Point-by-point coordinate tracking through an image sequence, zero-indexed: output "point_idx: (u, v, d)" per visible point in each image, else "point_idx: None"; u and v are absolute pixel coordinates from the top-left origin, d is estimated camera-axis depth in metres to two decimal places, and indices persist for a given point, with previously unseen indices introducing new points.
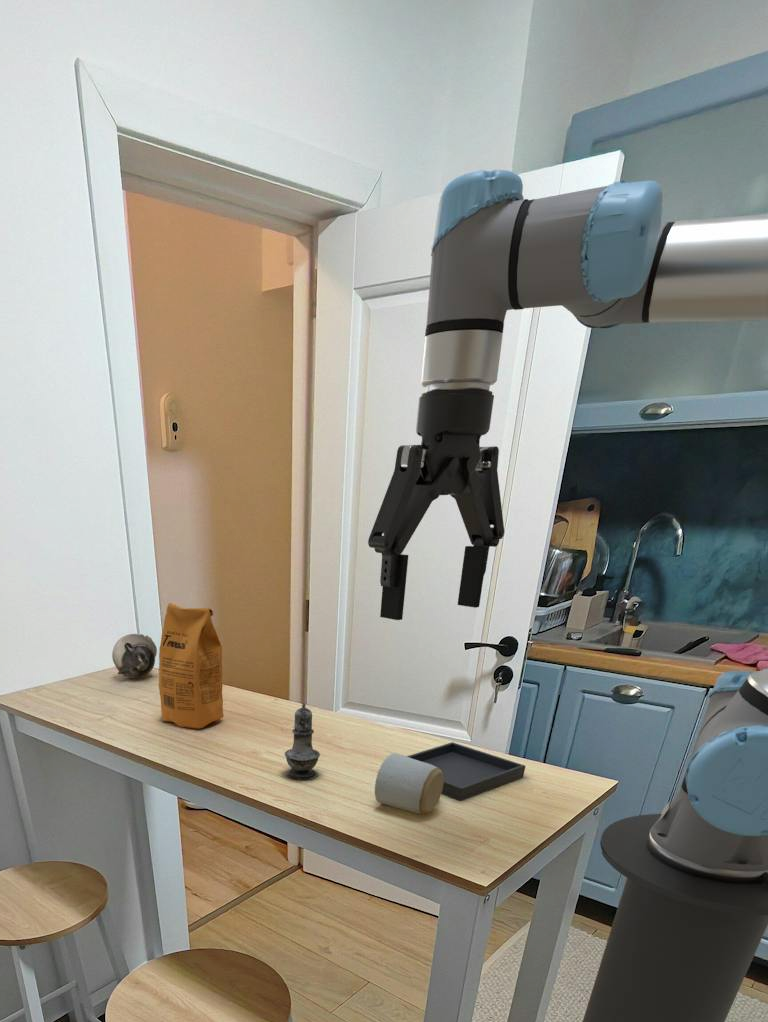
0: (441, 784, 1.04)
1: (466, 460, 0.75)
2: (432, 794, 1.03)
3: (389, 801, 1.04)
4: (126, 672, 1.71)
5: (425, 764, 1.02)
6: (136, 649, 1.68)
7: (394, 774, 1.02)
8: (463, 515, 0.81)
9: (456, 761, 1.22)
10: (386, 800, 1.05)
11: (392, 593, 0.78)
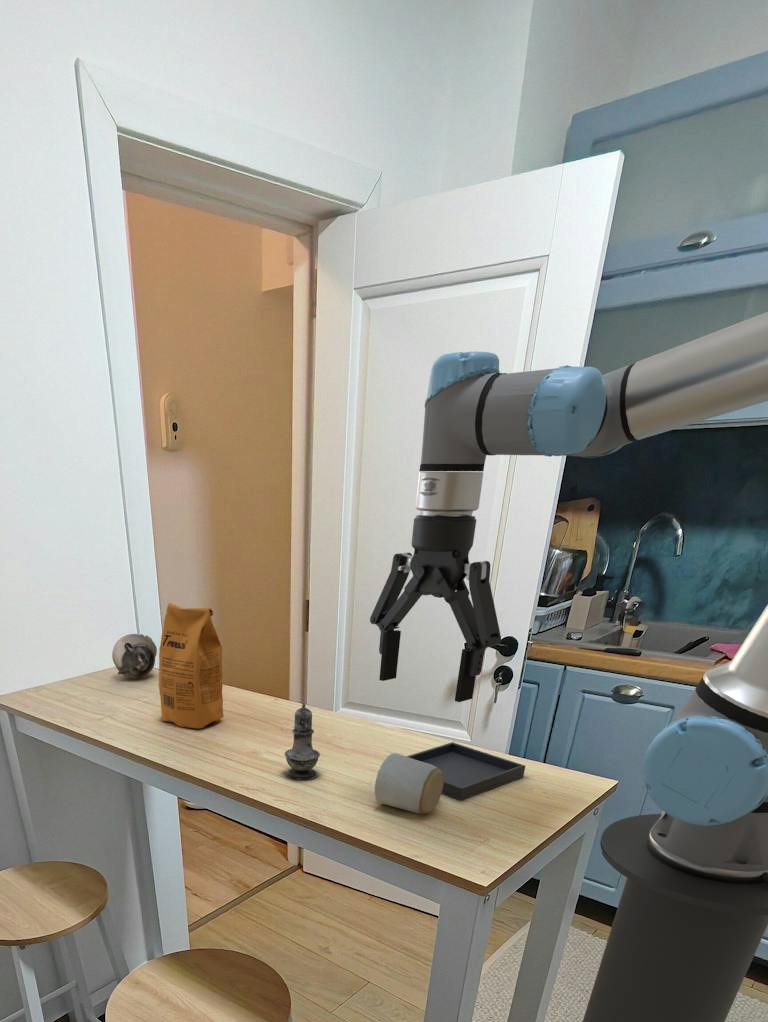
0: (441, 784, 1.04)
1: None
2: (432, 794, 1.03)
3: (389, 801, 1.04)
4: (126, 672, 1.71)
5: (425, 764, 1.02)
6: (136, 649, 1.68)
7: (394, 774, 1.02)
8: (401, 609, 0.95)
9: (456, 761, 1.22)
10: (386, 800, 1.05)
11: (470, 679, 0.92)
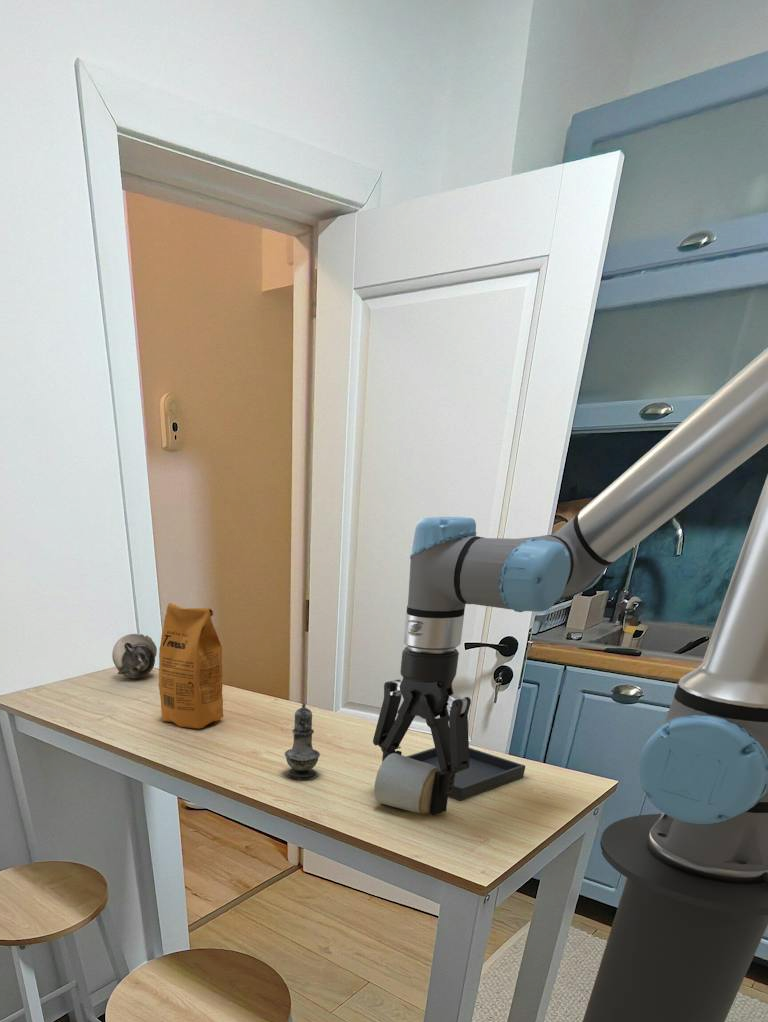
0: None
1: None
2: None
3: (388, 801, 1.04)
4: (126, 672, 1.71)
5: (424, 764, 1.02)
6: (136, 649, 1.68)
7: (394, 774, 1.02)
8: (398, 730, 1.04)
9: None
10: (386, 800, 1.05)
11: (443, 796, 1.03)
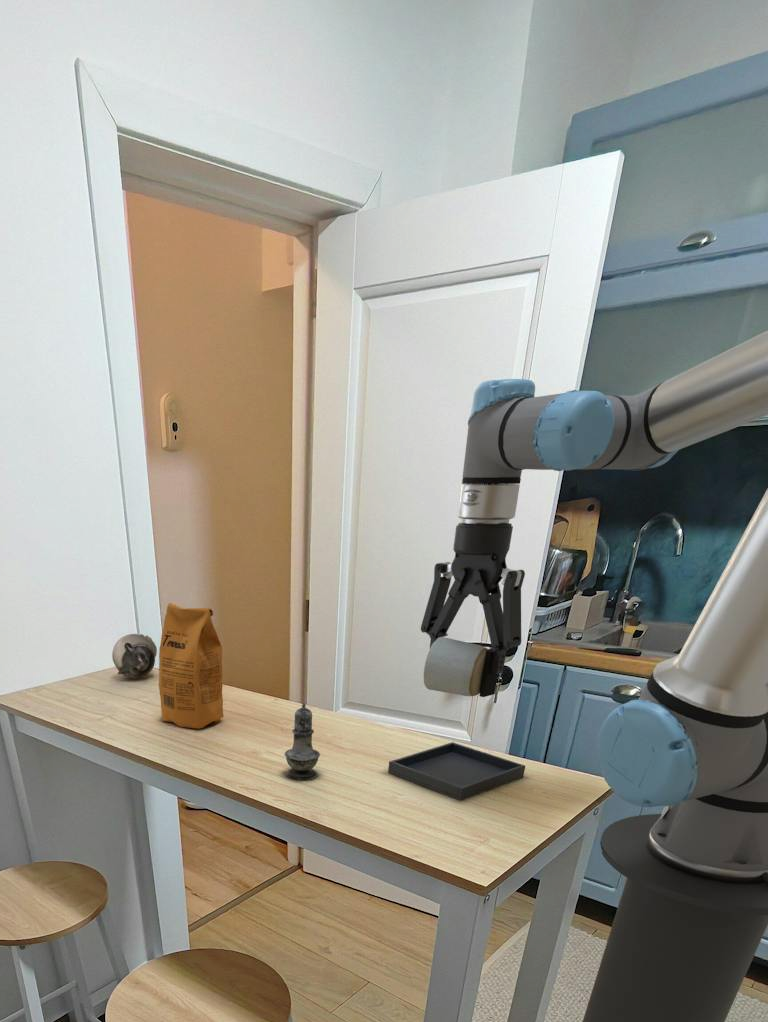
0: None
1: None
2: (482, 675, 1.04)
3: (438, 683, 1.05)
4: (126, 672, 1.71)
5: (475, 644, 1.03)
6: (136, 649, 1.68)
7: (444, 654, 1.03)
8: (448, 613, 1.05)
9: (456, 761, 1.22)
10: (435, 683, 1.06)
11: (493, 677, 1.04)
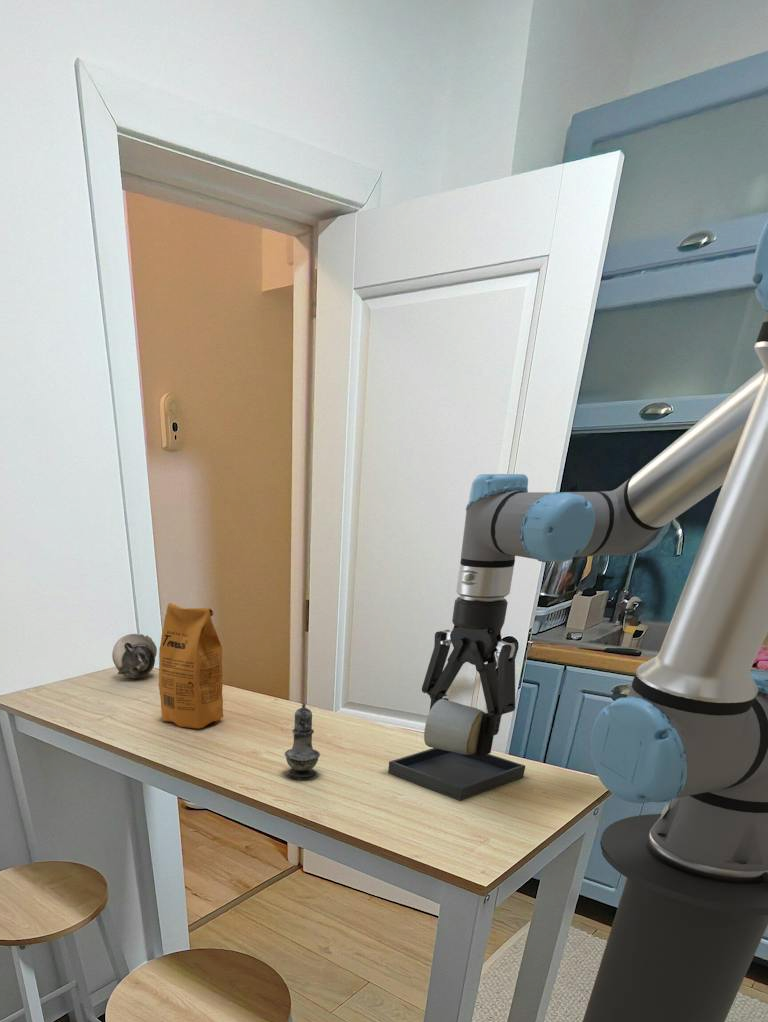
0: None
1: None
2: (478, 736, 1.11)
3: (437, 743, 1.13)
4: (126, 672, 1.71)
5: (472, 708, 1.10)
6: (136, 649, 1.68)
7: (443, 717, 1.10)
8: (447, 677, 1.12)
9: (456, 761, 1.22)
10: (435, 742, 1.13)
11: (488, 738, 1.11)
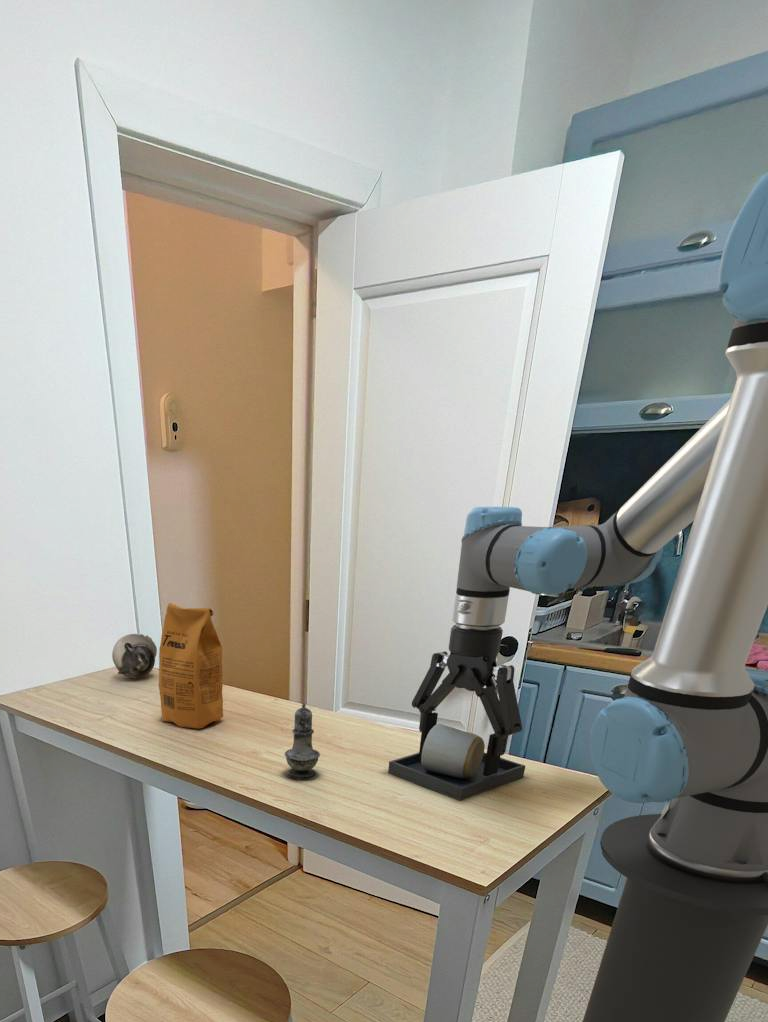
0: (482, 752, 1.14)
1: None
2: (475, 761, 1.13)
3: (434, 767, 1.15)
4: (126, 672, 1.71)
5: (468, 733, 1.12)
6: (136, 649, 1.68)
7: (440, 742, 1.12)
8: (439, 697, 1.15)
9: None
10: (432, 766, 1.15)
11: (495, 758, 1.11)
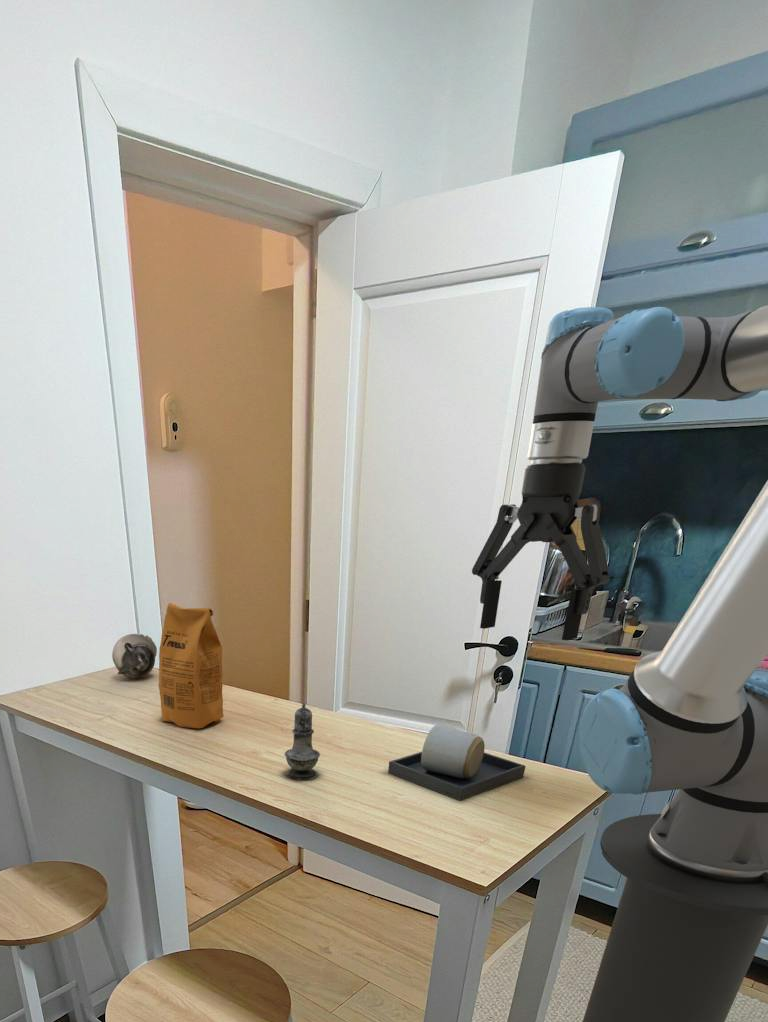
0: (482, 752, 1.14)
1: None
2: (475, 761, 1.13)
3: (434, 767, 1.15)
4: (126, 672, 1.71)
5: (468, 733, 1.12)
6: (136, 649, 1.68)
7: (440, 742, 1.12)
8: (506, 557, 1.02)
9: None
10: (432, 766, 1.15)
11: (576, 619, 0.98)
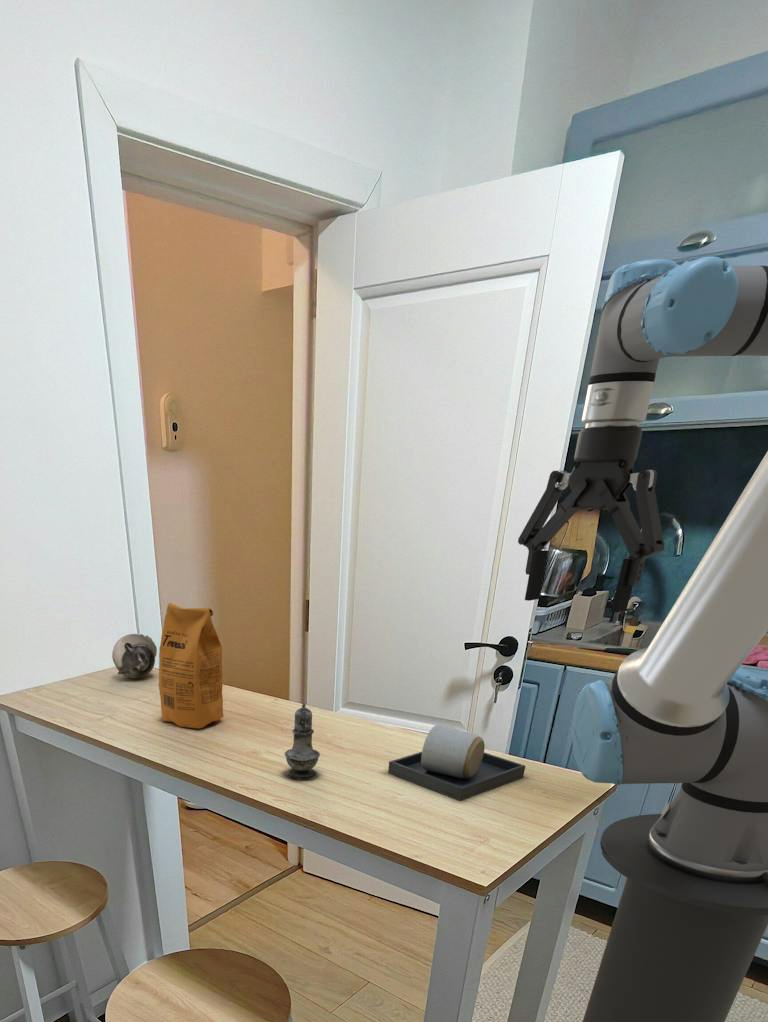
0: (482, 752, 1.14)
1: None
2: (475, 761, 1.13)
3: (434, 767, 1.15)
4: (126, 672, 1.71)
5: (468, 733, 1.12)
6: (136, 649, 1.68)
7: (440, 742, 1.12)
8: (555, 526, 0.99)
9: None
10: (432, 766, 1.15)
11: (627, 590, 0.95)
